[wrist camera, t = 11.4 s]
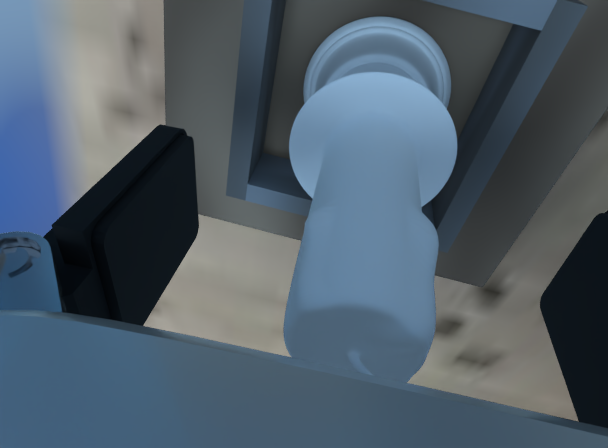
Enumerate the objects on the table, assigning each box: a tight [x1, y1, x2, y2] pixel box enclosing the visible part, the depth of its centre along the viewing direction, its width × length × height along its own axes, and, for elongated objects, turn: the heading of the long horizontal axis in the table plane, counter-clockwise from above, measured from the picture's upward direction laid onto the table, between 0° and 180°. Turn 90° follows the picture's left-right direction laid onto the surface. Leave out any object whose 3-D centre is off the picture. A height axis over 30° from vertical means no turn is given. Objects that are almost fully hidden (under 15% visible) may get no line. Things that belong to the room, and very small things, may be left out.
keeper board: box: [164, 0, 608, 287], centre depth 15 cm, size 16×16×4 cm
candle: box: [284, 16, 457, 383], centre depth 11 cm, size 5×5×12 cm
